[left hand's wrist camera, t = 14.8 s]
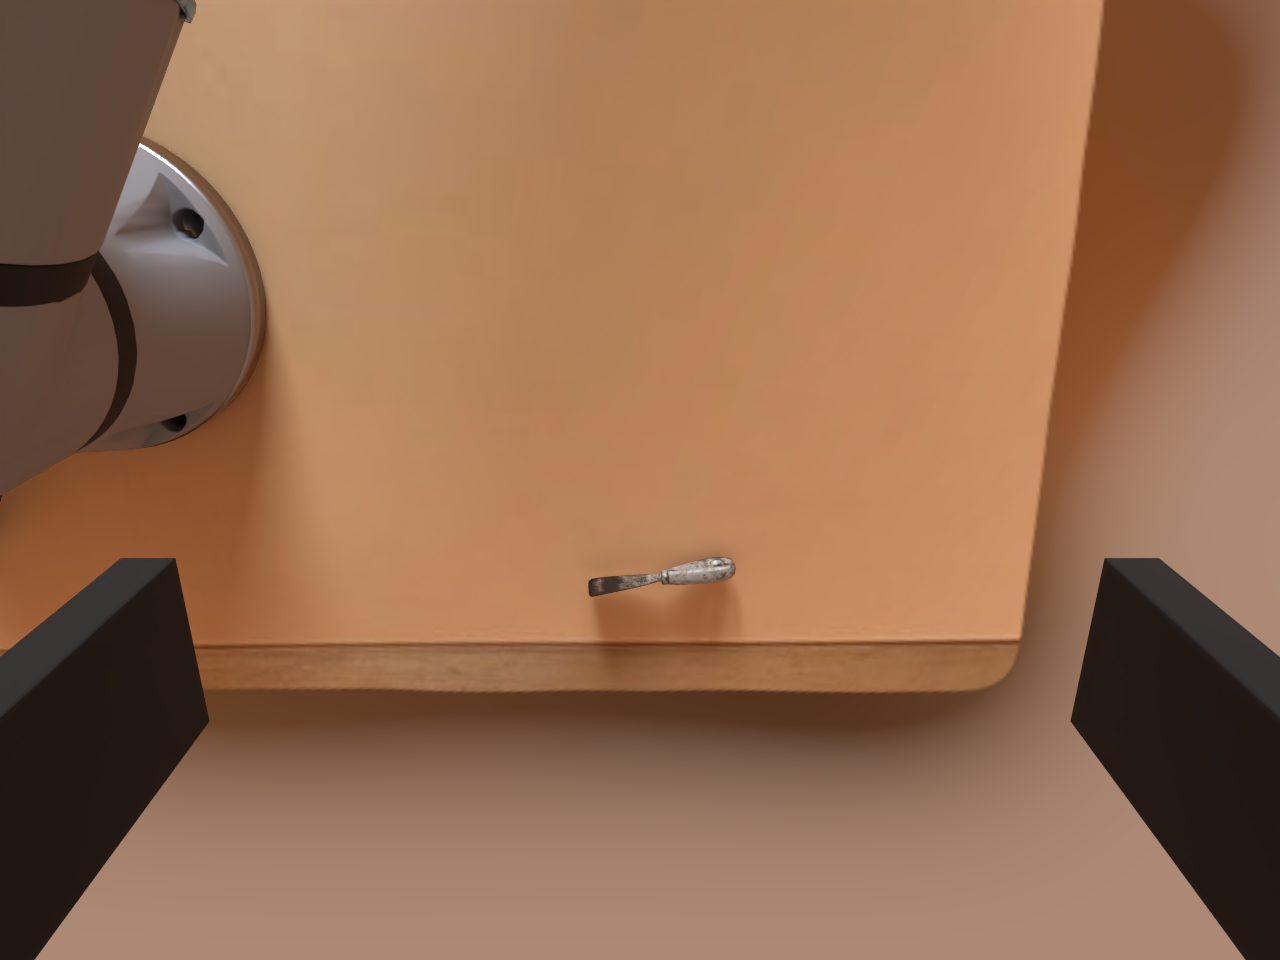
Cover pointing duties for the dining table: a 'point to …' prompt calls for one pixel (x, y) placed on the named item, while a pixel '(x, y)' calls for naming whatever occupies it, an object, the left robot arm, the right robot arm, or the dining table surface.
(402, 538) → the dining table surface
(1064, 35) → the dining table surface
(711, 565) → the putty knife
